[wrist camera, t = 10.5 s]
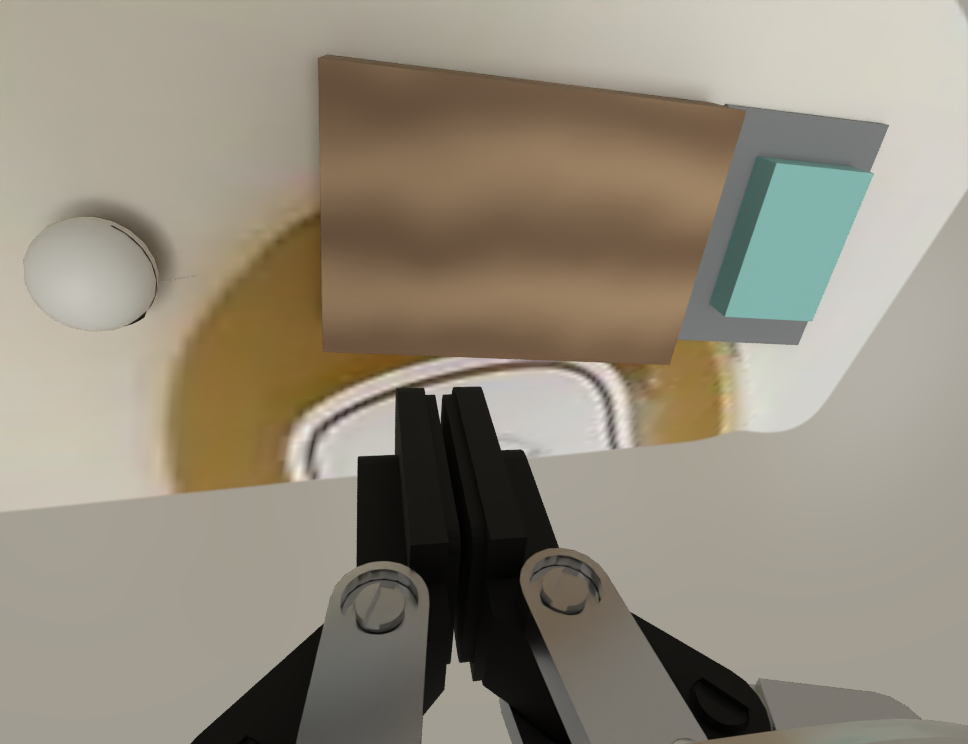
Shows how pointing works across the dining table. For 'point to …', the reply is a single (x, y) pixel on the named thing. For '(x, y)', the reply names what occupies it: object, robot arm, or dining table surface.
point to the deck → (511, 214)
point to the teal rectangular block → (787, 238)
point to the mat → (757, 138)
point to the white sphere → (91, 274)
